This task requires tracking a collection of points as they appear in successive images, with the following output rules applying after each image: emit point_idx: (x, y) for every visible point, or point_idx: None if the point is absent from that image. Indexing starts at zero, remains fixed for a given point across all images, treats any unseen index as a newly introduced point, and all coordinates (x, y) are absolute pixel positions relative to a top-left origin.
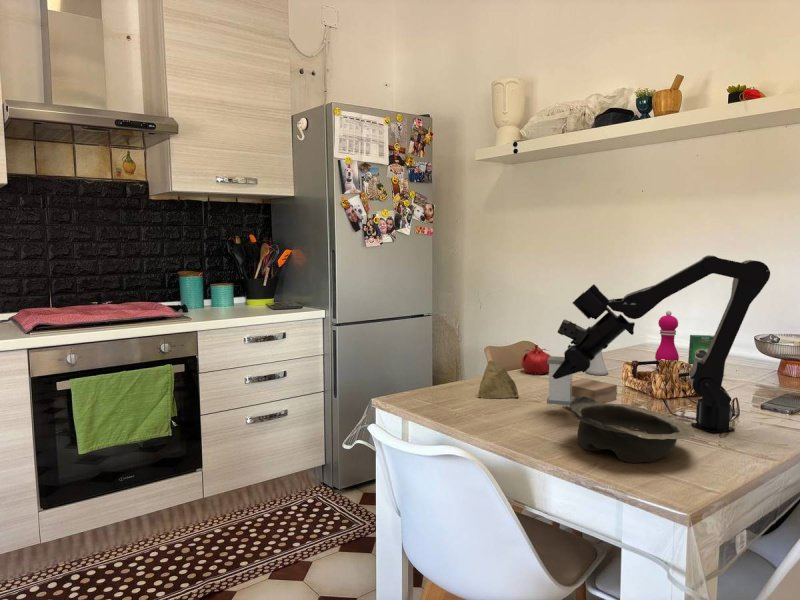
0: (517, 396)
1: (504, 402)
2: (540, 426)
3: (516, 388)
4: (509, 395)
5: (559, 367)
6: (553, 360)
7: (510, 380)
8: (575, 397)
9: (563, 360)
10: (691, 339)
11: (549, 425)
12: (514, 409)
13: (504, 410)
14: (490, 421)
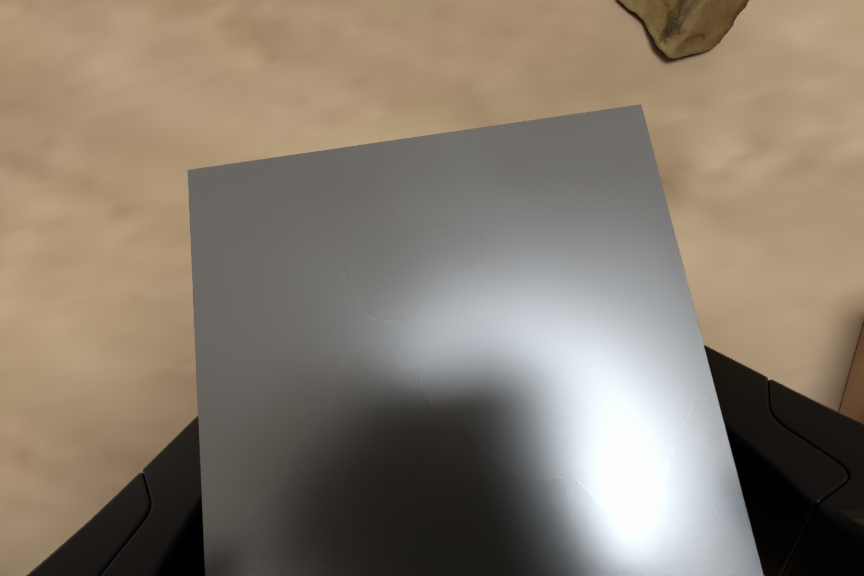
0: (666, 51)
1: (525, 26)
2: (115, 364)
3: (703, 2)
4: (647, 5)
5: (156, 461)
6: (196, 303)
7: None
8: (859, 418)
9: (231, 542)
10: None
11: (157, 408)
12: (403, 123)
13: (353, 82)
14: (105, 90)
